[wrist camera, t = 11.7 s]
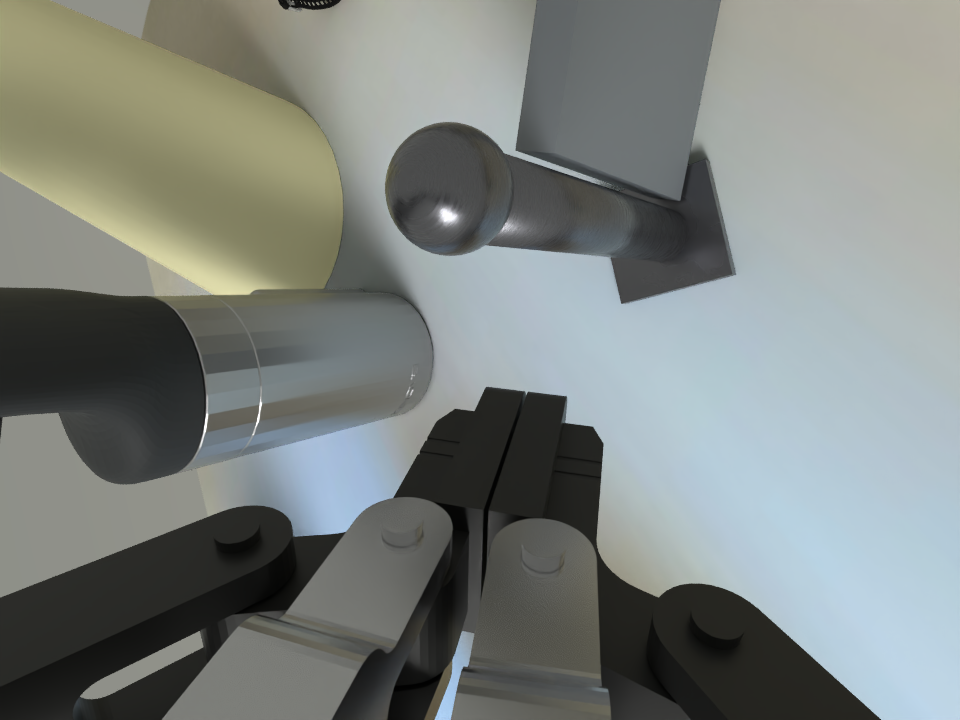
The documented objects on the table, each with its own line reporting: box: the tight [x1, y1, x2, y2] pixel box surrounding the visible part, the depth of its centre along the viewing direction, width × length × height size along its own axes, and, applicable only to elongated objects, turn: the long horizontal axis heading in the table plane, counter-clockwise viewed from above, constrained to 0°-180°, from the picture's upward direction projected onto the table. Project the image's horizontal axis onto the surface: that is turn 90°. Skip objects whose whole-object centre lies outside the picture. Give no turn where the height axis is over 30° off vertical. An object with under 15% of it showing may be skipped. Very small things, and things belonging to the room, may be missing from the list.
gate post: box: [385, 122, 736, 304], centre depth 25 cm, size 6×6×21 cm
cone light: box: [0, 0, 343, 295], centre depth 37 cm, size 25×18×35 cm
